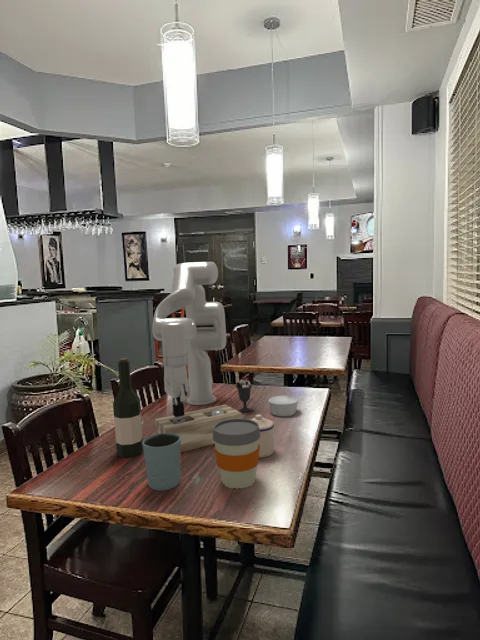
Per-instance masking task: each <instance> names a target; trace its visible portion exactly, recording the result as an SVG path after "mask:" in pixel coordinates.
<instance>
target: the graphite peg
mask: <svg viewBox="0 0 480 640" xmlns="http://www.w3.org/2000/svg"><path fill="white" fill-rule="evenodd" d="M183 422H185V418H183V417H178V418H174V419H173V424H179V423H183Z"/></svg>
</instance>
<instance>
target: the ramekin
mask: <svg viewBox="0 0 480 640" xmlns="http://www.w3.org/2000/svg"><path fill="white" fill-rule="evenodd" d="M267 403H268V405H269V409H270V410H269V411H270V413H271V414H272V415H274V416H276V417H292V416H293V415H295V414H296V411H297V408H298V403H299V400H298V398H296V397H294V396H291V395H276V396H272V397H269V399H268V400H267Z"/></svg>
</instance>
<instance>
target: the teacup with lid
mask: <svg viewBox="0 0 480 640" xmlns="http://www.w3.org/2000/svg"><path fill="white" fill-rule="evenodd" d="M254 416H255V417H253V418H251V419H250V420H253V421H255V422H257V423H258V424H259V430H260V438H259V445H260V450H259V458H266V457H269V456H271V455H273V454H274V452H275V439H274V427H275V424H274V422H273V421H272V420H271V419H268V418H265V417H263V416H262V414H259V413H258V414H256V415H254Z"/></svg>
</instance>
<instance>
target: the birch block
mask: <svg viewBox="0 0 480 640" xmlns="http://www.w3.org/2000/svg"><path fill="white" fill-rule="evenodd" d="M215 409H222V410H224V414H220V415H215V416H212V411H213V410H215ZM179 417H183V418H185V422H183V423H179V424H173V419H174V418H178V417H175V416H174V415H173V414H172V415H169V416H168V415H167V416H164V417H158V418H155V419H154V422H155V423H154V424H155V425H154V426H155V434H160V433H173V434H177V435H179V436H180V437H181V448H180V452H181V453H183V452H188V451H191V450H195V449H199V448H203V447H208V446H211V445H215V441H214V440H213V427H214V425H215V424H216V423H218V422H221V421H224V420H228V419H243V412H240V411H239V410H237V409H235V408H233V407H231V406H229V405H227V404H222V405H216V406H211V407H207V408H203V409H202V408H201V409H196V410H193V411H188V412H184V416H179Z"/></svg>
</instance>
